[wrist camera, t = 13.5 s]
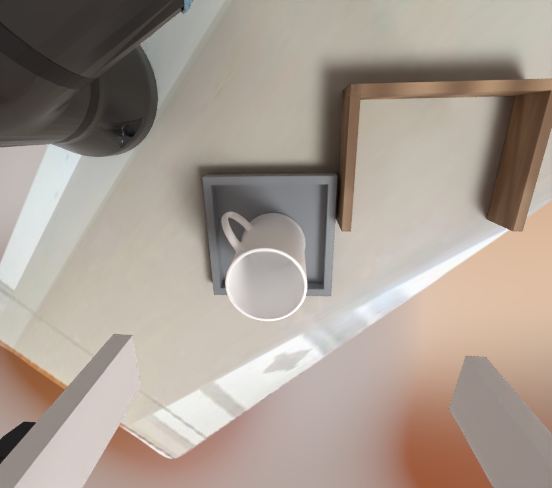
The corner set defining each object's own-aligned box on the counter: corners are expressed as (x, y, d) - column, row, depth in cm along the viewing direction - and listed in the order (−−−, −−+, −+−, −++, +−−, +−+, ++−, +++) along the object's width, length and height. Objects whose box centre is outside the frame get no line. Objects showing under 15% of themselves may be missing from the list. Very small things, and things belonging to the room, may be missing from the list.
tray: (218, 286, 44) (214, 294, 42) (207, 174, 39) (202, 177, 36) (329, 287, 43) (331, 296, 41) (334, 172, 38) (337, 175, 35)
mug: (214, 215, 40) (183, 248, 29) (267, 178, 38) (256, 199, 27) (265, 282, 43) (256, 336, 32) (317, 251, 41) (326, 298, 30)
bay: (336, 219, 40) (341, 231, 35) (343, 90, 34) (351, 84, 30) (494, 219, 39) (522, 231, 34) (527, 85, 33) (565, 78, 29)
